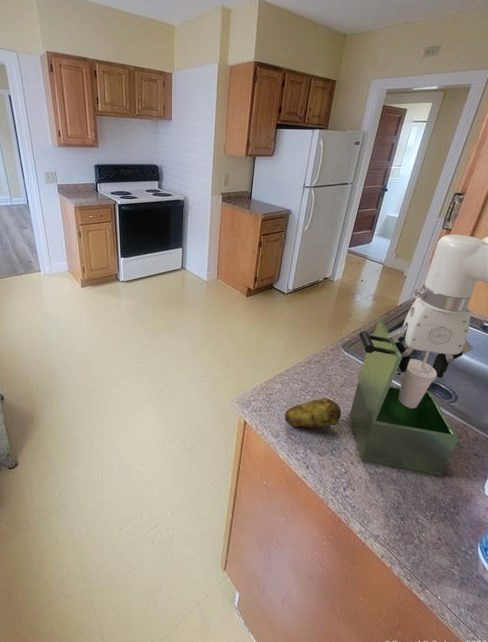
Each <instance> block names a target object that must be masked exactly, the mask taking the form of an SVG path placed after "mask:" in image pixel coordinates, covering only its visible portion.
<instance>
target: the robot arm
mask: <svg viewBox="0 0 488 642" xmlns="http://www.w3.org/2000/svg"><path fill="white" fill-rule="evenodd" d="M478 281H479V282H482V283H487V284H488V236H486V237H484V238H482V239H481V238H478V237H474V236H470V235H464V234H446V235H443V236H442V237H440V239H439V240H438V242H437V244H436V248H435V249H434V253H433V257H432V260H431V263H430V266H429V269H428V271H427V275H426V278H425V281H424V284H423V285H422V287H421V288H420V289H417V288H416V289H415V290H414V296H415V297H416V298H415V300H414V302H413V303H412V305H411V307H410V309H409V310H408V313H407V315H406V317H405V319H404V322H403V325H402V326H401V327H398V328H396V329H395V330H393V331H391V332H389V334H388V337H389V339H393V341H394V343H395V345H396V346H397V348H398V350H399V352H400V353H401V355H402V359H401V361H400V364H399V366H398V368H399V370H400V372H401V373H402V372H406V370H407V367H408V364H409V361H410V359H411V357H410V354H411V353H413V351H414V350H415V351H421V352H426V351H427V352H429V353H436V356H435V358H434V361H433V364H432V367H433V368H434V369H435V370H436V372H437V376H436V378H437V377H438V378H440V379H443V376H444V375H445V373H446V372H447V370H448V366H449V365H450V364H451V363H454V360H456V359H458V358H461V357H462V356H463V355H465V354H467V353H469V352H471V351H473V349H474V347H473V346H472V344H470V342H469V341H468V340H467V337H468V333H469V330H470V329H469V328H470V323H471V322H470V321H471V312H472V311H471V309H470V307H468V305H469V302H470V300H471V298H472V295H473V292H474V290H475V287H476V284H477V283H478ZM400 338H403V340H402V341H400V340H399V339H400Z"/></svg>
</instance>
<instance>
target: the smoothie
mask: <svg viewBox="0 0 488 642" xmlns="http://www.w3.org/2000/svg"><path fill="white" fill-rule="evenodd" d="M429 355H430V352H427V351H425V354H424V357H423V360H421V359H415V358H410V361H409V364H408V367H407V370H406V372H401V380H400V386H399V387H400V394H399V401H400V402H401V403H402V404H403V405H404V406H406V407H409V408H416V407H417V406H418V404H419V403H420V401H421V399H422V397H423V396H424V394H425V392H426V391H428V389H429V388H430V386H431V384H432V382H434V381H435V380H436V379H437V372H436V370H435V369H434V368H433V365H430V364H429V363H427V361H428V357H429Z"/></svg>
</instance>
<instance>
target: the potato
mask: <svg viewBox="0 0 488 642" xmlns="http://www.w3.org/2000/svg"><path fill="white" fill-rule="evenodd" d="M284 414H285V415H284V419H285V420H284V421H285V422H286V423H287V424H288V425H290V426H292V427H296V428H297V427H305V428H320V427H326V426H336V425H337V424H338V423H339V421H340V418H341V416H342V410H341V407H340V405H339V404H338V403H336V402H335V401H334V400H332V399H330V398H325V397H324V398H323V397H322V398H318V399H314V400H310V401H308V402H305V403H301V404H297V405H294V406H292V407H290V408H288V409H287V410H286V411H285V413H284Z"/></svg>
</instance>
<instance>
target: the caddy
mask: <svg viewBox="0 0 488 642" xmlns="http://www.w3.org/2000/svg"><path fill="white" fill-rule="evenodd" d="M357 381H358V380H357ZM356 385H357V386H356V389H355V393H354V395H353V396H354V397H353V401H352V405H351V409H350V412H349V417H350V421H351V425H352V429H353V433H354V436H355V441H356V445H357V449H358V452H359V457H360V461H362V462H367V463H372V464H377V465H382V466H387V467H391V468H396V469H397V468H398V469H402V470H406V471H412V472H417V473H421V474H426V475H432V476H437V477H442V476H443V473H444V471H445V470H446V468H447V465H448V462H449V460H450V458H451V456H452V454H453V451H454V449H455V447H456V445H457V443H458V441H459V436H458V435H457V433H456V431H455V430H454V428H453V426H452V424H451V423H450V422H449V420H448V418H447V416H446V414H445V413H444V411H443V410H442V408H441V406H440V405H439V403H438V401H437V399H436V398H435V396H434V395H433V393H432V391H430V390H427V391H426V392H425V394H424V396H423V397H422V399H421V401H420V403H419V404H418V406H417V407H416V408H409V407H406V406H404V405H403V404H402V403H401V402H400V401H399V394H400V387H401V386H399V385H392V384H391V385H390V388H389V390H388V392H387V395H386V397H385V399H384V402H383V404H382V407H381V409H380V411H379V414H378V416H377V419H376V421H375V422H374V421H371V418H370V415H369V412H368V409H367V406H366V403H365V400H364V397H363V394H362V391H361V388H360V384H359V381H358V382H357V384H356Z"/></svg>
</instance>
